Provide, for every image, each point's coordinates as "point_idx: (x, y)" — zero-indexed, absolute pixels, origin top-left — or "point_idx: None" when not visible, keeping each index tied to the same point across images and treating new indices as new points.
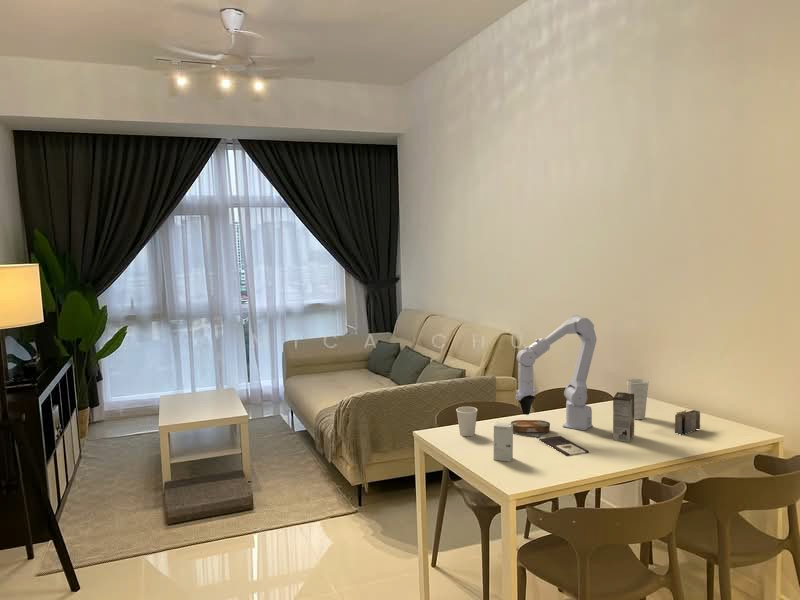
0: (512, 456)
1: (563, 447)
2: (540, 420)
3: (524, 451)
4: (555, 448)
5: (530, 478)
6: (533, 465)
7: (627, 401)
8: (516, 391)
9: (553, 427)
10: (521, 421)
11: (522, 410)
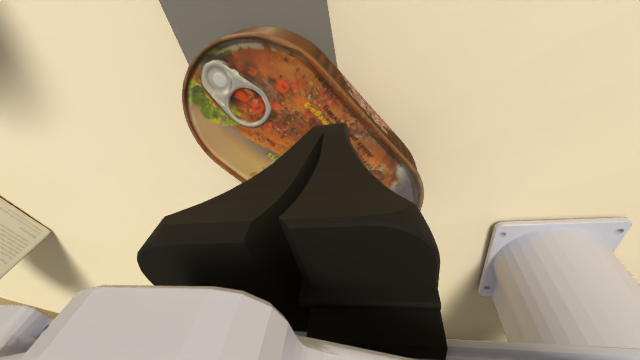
0: (45, 236)
1: None
2: (418, 180)
3: (119, 231)
4: None
5: (51, 294)
6: (92, 279)
7: None
8: (59, 341)
9: (466, 192)
10: (318, 80)
11: (299, 143)
